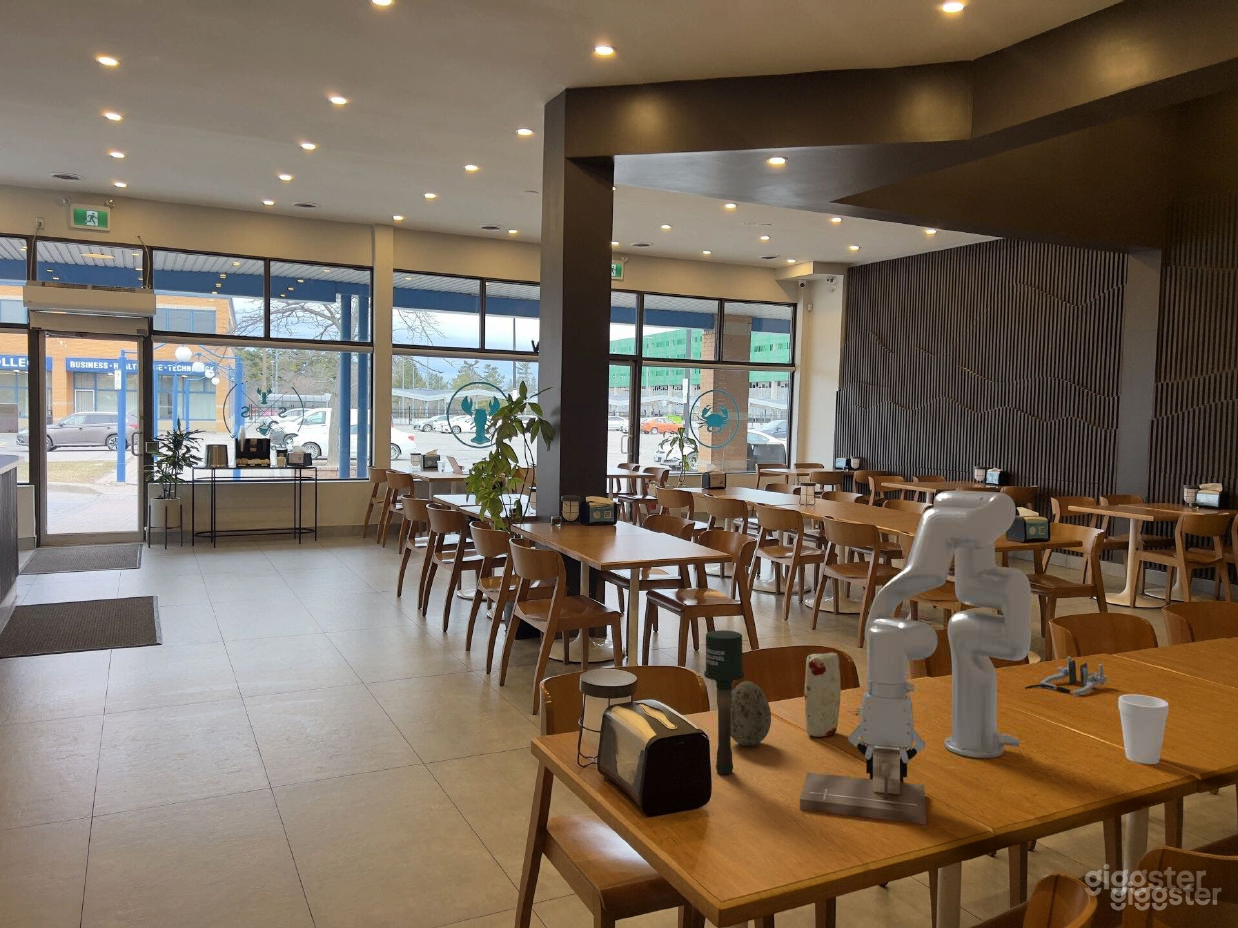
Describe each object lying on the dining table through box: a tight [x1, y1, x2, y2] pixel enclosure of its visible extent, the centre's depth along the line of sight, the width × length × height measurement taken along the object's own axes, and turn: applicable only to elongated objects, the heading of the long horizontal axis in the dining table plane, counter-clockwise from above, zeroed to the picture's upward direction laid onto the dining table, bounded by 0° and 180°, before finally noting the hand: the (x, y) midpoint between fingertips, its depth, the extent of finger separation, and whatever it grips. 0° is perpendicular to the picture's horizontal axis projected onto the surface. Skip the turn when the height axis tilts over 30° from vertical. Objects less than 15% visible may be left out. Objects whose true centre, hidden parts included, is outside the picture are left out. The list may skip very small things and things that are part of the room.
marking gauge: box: [872, 746, 901, 799], centre depth 173 cm, size 5×13×9 cm, turn 162°
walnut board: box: [799, 771, 927, 825], centre depth 173 cm, size 23×14×2 cm, turn 72°
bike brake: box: [1024, 656, 1108, 697], centre depth 247 cm, size 14×7×20 cm
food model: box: [803, 652, 842, 738], centre depth 211 cm, size 10×7×20 cm
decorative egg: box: [731, 680, 772, 747], centre depth 205 cm, size 11×11×15 cm
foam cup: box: [1118, 693, 1169, 765], centre depth 194 cm, size 10×9×13 cm
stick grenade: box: [703, 629, 745, 776], centre depth 188 cm, size 8×9×30 cm
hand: (886, 777), depth 175 cm, fingers closed on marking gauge, 5 cm apart
